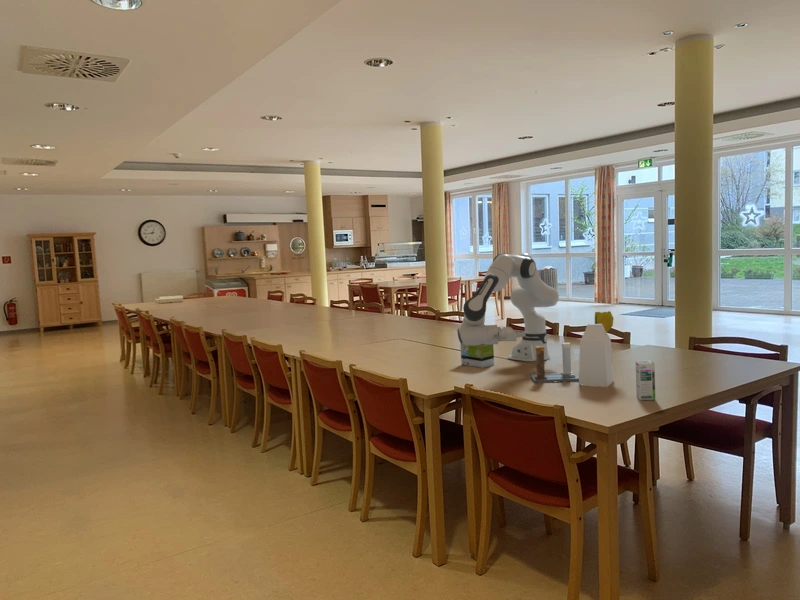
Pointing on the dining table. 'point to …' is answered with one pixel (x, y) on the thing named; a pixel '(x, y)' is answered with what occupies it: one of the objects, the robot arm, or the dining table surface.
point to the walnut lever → (540, 363)
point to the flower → (604, 319)
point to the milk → (595, 357)
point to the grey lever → (566, 359)
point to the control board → (555, 377)
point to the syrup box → (645, 380)
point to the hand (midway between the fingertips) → (524, 333)
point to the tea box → (477, 355)
